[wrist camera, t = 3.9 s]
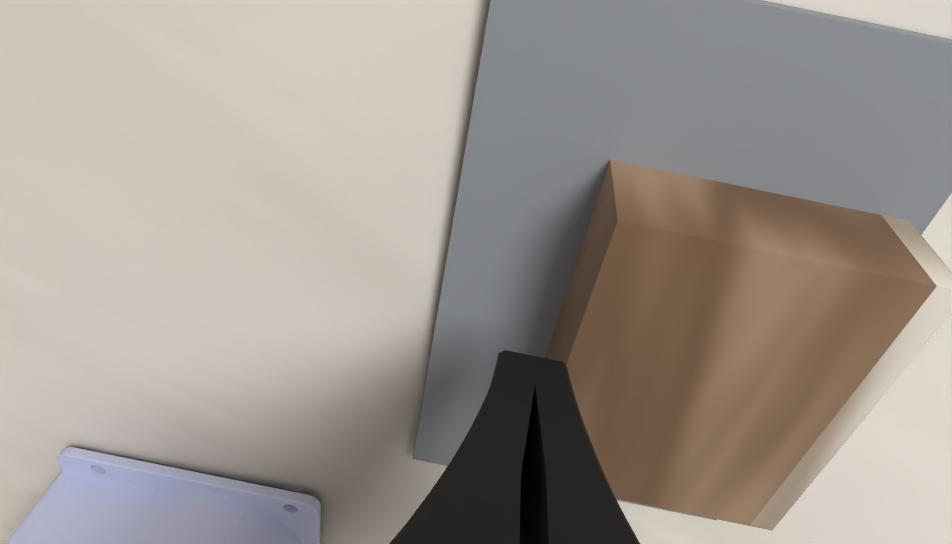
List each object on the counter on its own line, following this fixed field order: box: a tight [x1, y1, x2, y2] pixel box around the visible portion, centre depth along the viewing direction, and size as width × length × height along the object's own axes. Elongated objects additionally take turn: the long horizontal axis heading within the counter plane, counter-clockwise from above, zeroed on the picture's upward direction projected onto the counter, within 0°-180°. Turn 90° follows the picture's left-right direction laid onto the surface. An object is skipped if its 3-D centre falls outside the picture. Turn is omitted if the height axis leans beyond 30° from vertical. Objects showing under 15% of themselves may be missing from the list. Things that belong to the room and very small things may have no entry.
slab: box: [545, 159, 952, 530], centre depth 15 cm, size 2×8×6 cm
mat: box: [413, 0, 952, 520], centre depth 16 cm, size 10×15×1 cm, turn 170°
